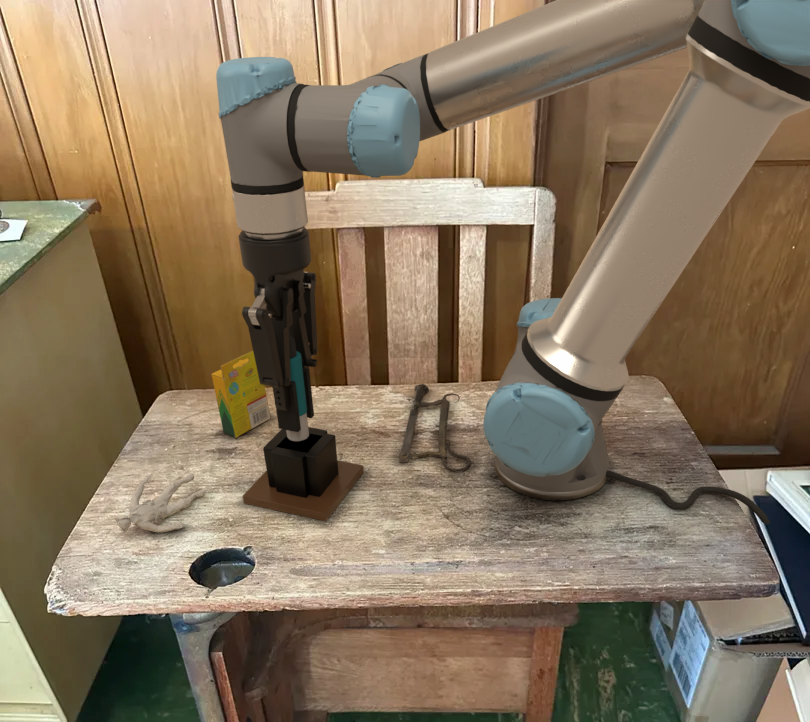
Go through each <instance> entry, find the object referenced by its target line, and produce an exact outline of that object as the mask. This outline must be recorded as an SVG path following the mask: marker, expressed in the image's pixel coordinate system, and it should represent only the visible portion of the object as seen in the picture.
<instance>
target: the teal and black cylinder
mask: <svg viewBox="0 0 810 722" xmlns="http://www.w3.org/2000/svg"><path fill="white" fill-rule="evenodd" d="M289 348H290V371H291V381H295V384H296V392H297V400H298V409H299V417H300V426H301V430H300V431H299V432H294V431H289V430H286V432H287V438H288V439H289V440H292V441H302V440H305V439H307V438H308V436H309V429H308V427H309V421H308V418H307V404H306V395H305V387H304V378H303V369H302V360H301V354H300V353H299V352H298V351H296V344H295V339H294V338H293V337H290V336H289Z"/></svg>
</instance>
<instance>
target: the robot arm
mask: <svg viewBox="0 0 810 722" xmlns="http://www.w3.org/2000/svg"><path fill="white" fill-rule="evenodd" d="M685 49H687V55H688V61H689V66H688V71H687V73H686V75H685V77H684V78H683V80H682V81H681V84H680V85H679V87H678V89H677V91H676V92H675V95H674V96H673V98H672V100H671V102H670V103H669V104H668V107H667V109H666V111H665V112H664V114H663V115H662V118H661V120H660V121H659V122H658V125H657V127H656V128H655V131H654V132H653V134H652V136H651V137H650V139H649V140H648V143H647V144H646V146H645V148H644V150H643V152H642V154H641V156H640V157H639V159H638V161H637V163H636V165H635V166H634V167H633V169H632V171H631V173H630V175H629V177H628V179H627V180H626V182H625V184H624V186H623V188H622V190H621V191H620V193H619V195H618V197H617V199H616V200H615V202H614V204H613V206H612V207H611V209H610V211H609V212H608V215H607V217H606V219H605V220H604V222H603V224H602V225H601V228H600V229H599V231H598V233H597V234H596V236H595V237H594V240H593V242H592V244H591V246H590V247H589V249H588V251H587V252H586V254H585V256H584V258H583V259H582V262H581V263H580V265H579V267H578V268H577V271H576V272H575V274H574V276H573V277H572V279H571V281H570V283H569V285H568V287H567V288H566V290H565V292H564V294H563V295H562V297H560V298H559V297H552V298H541V299H536V300H532V301H530V302H527V303H526V304H525V305H523V306H522V307H521V309H520V311H519V316H518V321H517V322H516V327H517V338H516V339H517V340H516V345H515V350H514V352H513V354H512V356H511V358H510V360H509V361H508V364H507V365H506V368H505V370H504V372H503V374H502V376H501V378H500V380H499V381H498V384H497V386H496V388H495V390H494V392H493V393H492V395H491V396H490V397H489V398H488V400H487V402H486V405H485V412H484V416H483V422H482V423H483V434H484V437H485V439H486V441H487V444H488V446H489V449H490V450H491V451H492V453H493V454H494V455H495V456H494V457H495V458H494V470H495V474H496V476H497V478H498V479H499V480H500V481H501V483H502V484H504V485H505V487H507V488H509V489H511V490H512V491H514V492H516V493H518V494H521V495H524V496H526V497H529V498H534V499H538V500H545V501H570V500H577V499H580V498H581V499H582V498H585V497H587V496H590V495H592V494H594V493H596V492H597V491H599V490H600V489H601V488H602V487H603V486H604V485H605V484H606V482H607V480H608V478H609V479H612V480H615V481H618V482H621V483H624V484H627V485H630V486H633V487H636V488H639V489H644V490H646V491H649V492H652V493H654V494H656V495H658V496H660V497H661V498H662V499H663V501H664V503H665V504H666V505H667V506H668V507H670V508H671V509H677V510H684V509H688V508H690V507H691V506H692V505H693V504H694V503H695V501H696V500H697V498H698V497H699V496H700V495H702V494H716V495H723V496H727V497H730V498H733V499H735V500H736V501H739V502H741V503H742V504H744V505H745V506H747V507H748V508H749V509H750V510H751V511H752V512H753V513H754V514H755V515H756V517H757V518H758V519H759V520H760V521H761V523H763V524H766V525H770V524H771V521H770V519H769V517H768V516H767V515H766V513H765V512H764V511H763V509H761V507H760V506H759V505H758V504H756V503H755V502H754V501H753V500H752V499H751V498H749V497H747V496H746V495H744V494H742V493H740V492H738V491H736V490H733V489H729V488H725V487H720V486H719V487H717V486H699V487H697V488H695V489H694V490H693V491H692V492H691V493H690V495H689V496H688V498H687V500H685V501H680V502H679V501H675V500H674V499H672V498H671V496H670V495H669V493H668V492H667V491H666V490H664V489H663V488H661V487H659V486H657V485H654V484H651V483H648V482H646V481H642V480H639V479H635V478H632V477H629V476H626V475H623V474H620V473H617V472H613V471H611V470H610V457H609V453H608V447H607V443H606V438H605V432H604V428H603V427H604V426H603V418H604V417H605V416H606V414H607V413H608V412H609V410H610V408H611V406H612V405H613V404H614V402H615V401H616V400H617V398H618V397H619V395H620V393H621V392H622V390H623V389H624V388H625V386H626V384H627V383H628V381H629V370H628V366H627V363H626V358H627V356H628V355H629V353H630V352H631V350H632V349H633V347H634V346H635V345H636V342H637V341H638V340H639V339H640V337H641V335H642V334H643V332H644V331H645V329H646V328H647V326H648V325H649V323H650V321H651V320H652V319H653V317H654V315H655V314H656V312H657V311H658V309H659V308H660V306H661V305H662V303H663V302H664V300H665V298H666V297H667V296H668V294H669V293H670V291H671V290H672V288H673V287H674V285H675V284H676V283H677V281H678V279H679V277H680V276H681V275H682V274H683V271H684V270H685V269H686V268H687V266H688V264H689V262H690V261H691V259H692V258H693V256H694V255H695V253H696V252H697V250H698V249H699V247H700V246H701V244H702V243H703V241H704V240H705V238H706V237H707V235H708V234H709V232H710V230H711V229H712V227H713V226H714V224H715V223H716V222H717V220H718V218H719V217H720V216H721V214H722V212H723V211H724V210H725V208H726V206H727V205H728V203H729V202H730V200H731V199H732V197H733V196H734V194H735V193H736V191H737V189H738V188H739V187H740V185H741V184H742V182H743V181H744V179H745V178H746V176H747V174H748V173H749V171H750V170H751V168H752V167H753V165H754V164H755V163H756V161H757V159H758V158H759V157H760V155H761V153H762V152H763V150H764V149H765V147H766V146H767V145H768V142H769V141H770V140H771V138H772V137H773V135H774V134H775V132H776V131H777V130H778V127H779V126H780V125H781V123H782V122H783V121H784V120H785V119H787V118H788V117H790V116H794V115H796V114H798V113H802V112H804V111H806V110H809V109H810V0H554V1H551V2H549V3H546V4H544V5H541V6H538V7H536V8H534V9H531V10H529V11H526V12H524V13H522V14H519V15H517V16H514V17H512V18H510V19H507V20H504V21H502V22H500V23H497V24H495V25H492V26H490V27H488V28H485V29H482V30H480V31H478V32H476V33H473V34H471V35H470V34H469V35H468V36H466V37H463V38H460V39H458V40H455V41H452V42H451V43H448V44H446V45H444V46H440V47H439V48H436V49H434V50H431V51H429V52H427V53H425V54H422V55H419V56H416V57H414V58H412V59H408V60H407V61H404V62H400V63H397V64H393V65H391V66H390V67H387V68H385V69H383V70H382V71H380V72H378V73H375V74H374V75H369V76H367V77H365V78H363V79H360V80H358V81H355V82H353V83H350V84H340V85H339V84H337V85H336V84H335V85H332V84H331V85H329V84H319V85H318V84H316V85H313V84H304V83H298V82H297V81H296V79H297V77H296V76H295V72H294V66H293V64H292V63H291V61H290V60H289V59H287V58H284V57H276V56H250V57H239V58H234V59H229V60H226V61H223V62H222V63H221V64H220V65H219V66H218V68H217V69H216V75H215V78H216V90H217V99H218V110H219V111H218V119H219V120H220V124H221V129H222V134H223V139H224V146H225V153H226V159H227V166H228V171H229V176H230V179H229V180H230V184H231V185H230V186H231V190H232V191H231V192H232V201H233V204H234V205H233V207H234V212H235V220H236V226H237V228H238V230H241V231H240V232H239V235H238V244H239V250H240V256H241V263H242V266H243V268H244V270H246V271H248V272H249V273H250V274H251V275H252V277H253V278H254V287H253V295H254V298H255V299H254V301H253V302H252V305H251V306H246V305H245V306H243V307H242V309H241V315H242V317H243V320H244V322H245V324H246V326H247V328H248V332H249V337H250V342H251V347H252V351H253V352H254V357H255V362H256V367H257V372H258V376H259V381H260V384H261V385H265V386H268V387H272V392H273V394H272V395H273V398H274V399H273V401H274V406H275V410H276V411H275V412H276V418H277V426H278V430H281V429H283V430H289V431H294V432H299V431H300V430H301V426H300V417H299V409H298V400H297V392H296V384H295V381H291V371H290V348H289V336H290V337H293V338H294V339H295V344H296V351H298V352H299V353H300V354H301V360H302V369H303V378H304V387H305V395H306V404H307V419H312V418H314V416H315V411H314V403H313V394H312V393H313V392H312V391H313V390H312V382H311V373H310V372H311V371H310V367H311V368H316V367H317V365H318V359H317V358H316V359H315V358H312V356H317V355H318V351H319V350H318V331H317V329H318V328H317V312H316V310H317V309H316V308H317V307H316V294H315V293H316V284H317V274H316V273H315V272H311V271H304V270H305V269H306V268H307V267H309V265H311V262H312V252H311V243H310V232H309V229H307V228H306V226H307V225H308V223H309V218H308V210H307V209H308V208H307V201H306V200H307V199H306V190H305V180H304V172H305V173H313V172H314V173H326V174H337V175H339V174H341V175H350V176H351V175H354V176H365V177H369V178H372V179H373V178H375V179H376V178H377V179H378V178H381V177H400V176H404V175H406V174H407V173H409V172H410V171H411V170H412V168H413V167H414V164H415V160H416V159H417V157H418V153H419V147H420V142H421V141H426V140H428V139H430V138H434V137H436V136H439V135H442V134H445V133H447V132H449V131H452V130H454V129H457V128H460V127H463V126H466V125H468V124H472V123H475V122H478V121H480V120H483V119H486V118H489V117H492V116H495V115H498V114H500V113H503V112H506V111H509V110H512V109H515V108H517V107H520V106H524V105H526V104H530V103H532V102H535V101H538V100H541V99H543V98H548V97H549V96H552V95H555V94H558V93H560V92H564V91H567V90H569V89H572V88H575V87H578V86H581V85H584V84H587V83H589V82H592V81H596V80H598V79H602V78H604V77H606V76H610V75H613V74H615V73H618V72H621V71H624V70H627V69H630V68H633V67H635V66H638V65H642V64H644V63H648V62H650V61H653V60H656V59H659V58H661V57H664V56H667V55H670V54H673V53H676V52H679V51H681V50H685Z"/></svg>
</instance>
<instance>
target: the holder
mask: <svg viewBox="0 0 810 722" xmlns="http://www.w3.org/2000/svg"><path fill="white" fill-rule="evenodd" d="M308 429H309V436H308V438H307V439H305V440H302V441H292V440H289V439H288V438H287V432H286V430H283V429H279V431H278V432H277V433H276V434H275V435H274V436H273V437H272V438H271V439H270V440H269V441H268V442H267V443H266V444H265V445H264V446H263V447H262V448H263V456H264V461H265V469H266V470H265V472H264V473H263V474H262V475H261V476H260V477H259V478H257V480H256V481H255V482H254V483H253V484H252V485H251V486H250V487H249V488H248V489H247V491H246V492H245V493H244V494H243V495H242V501H243V504H246V505H250V506H254V507H259V508H263V509H268V510H271V511H272V510H273V511H277V512H280V513H281V512H282V513H287V514H292V515H295V516H300V517H304V518H310V519H314V520H318V521H324V522H327V521H328V520H329V518H330V517H331V516H332V515H333V513H334V512H335V511H336V509H337V508H338V507H339V505H340V504H341V503H342V501H343V500H344V499H345V497H346V496H347V495H348V494H349V493H350V491H351V490H352V488H353V487H354V486H355V485H356V483H357V482H358V480H359V479H361V476H363V474H364V472H365V471H364V464H359V463H354V462H348V461H343V460H338V452H337V451H338V450H337V440H336V435H335V434H331V433H329V432H328V430H327V429H322V428H316V427H311V426H308Z"/></svg>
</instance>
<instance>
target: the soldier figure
mask: <svg viewBox="0 0 810 722" xmlns="http://www.w3.org/2000/svg"><path fill="white" fill-rule="evenodd" d="M152 477H153V475H152V474H147V475H146V476H144V477H143V479H142V480H141V482H139V483H138V486H137V487H136V489H135V490H134V492H133V494H132V497H131V500H130V503H129V505H128V508H127V509H128V515H123V516H121V517H114V520H115V522H116V523H117V525H118V527H119V529H120V530H122V531H123V533H125V535H127V532H128V530H129V529H130V527H131V525H132V524H134V525H135V526H138V527H139V528H140V529H141V530H144V531H149V532H154V533H167V532H172V531H174V530H180V529H182V528H184V527H185V526H186V524H185V522H183V521H179V522H176V523H174V524H169V525H168V524H167V525H162V524H161V525H160V524H159V525H157V524H155V523H156V522H159V521H160V520H164V519H166V518H167V517H170V516H172V515H174V514H176V513H178V512H180V511H181V510H182V509H186V508H187V507H190V506H191V503H192V502H193V501H194V500H195V498H200V497H202V496H204V495H205V494H206V491H205V489H204V488H201V489H199V490H197V491H194V492H193V493H191V494H190V495H189V496H186V497H182V498H181V499H179V500H176V501H174V502H171V503H169V502H170V500H171V498H172V497H173V495H174V494H176V492H177V491H178V490H179V489H180V488H181V486H182V485H184V484H188V483H190V482H192V481H194V480H195V474H194V473H193V472H191V473H189V474H188V475H186V476H184V477H183V478H181V479H178V480H177V481H173V482H170V484H169V485H167V486H165V487H164V489H163V490H162V492H161V493H160V494H159V495H158V496H157V498H154V499H152V500H151V499H146V500H144V501H142V503H141V504H140V499H141V497H142V495H143V492H144V489H145V485H146V484H150V483H152V482H153V481H152V480H150V479H151V478H152ZM149 480H150V481H149ZM153 522H154V523H153Z"/></svg>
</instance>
